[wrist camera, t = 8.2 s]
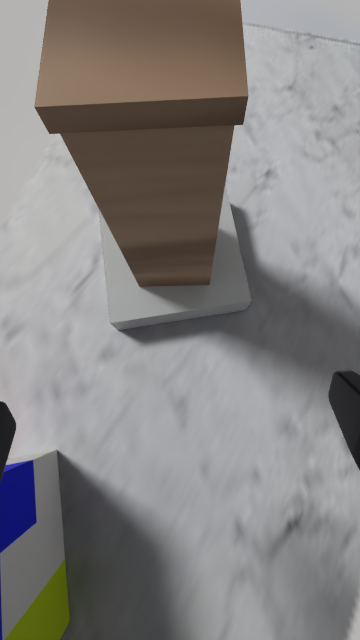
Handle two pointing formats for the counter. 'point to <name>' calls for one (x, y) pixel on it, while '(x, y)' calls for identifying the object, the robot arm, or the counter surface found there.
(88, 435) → the counter surface
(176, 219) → the walnut canister
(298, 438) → the counter surface
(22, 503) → the puzzle toy
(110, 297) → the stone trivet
